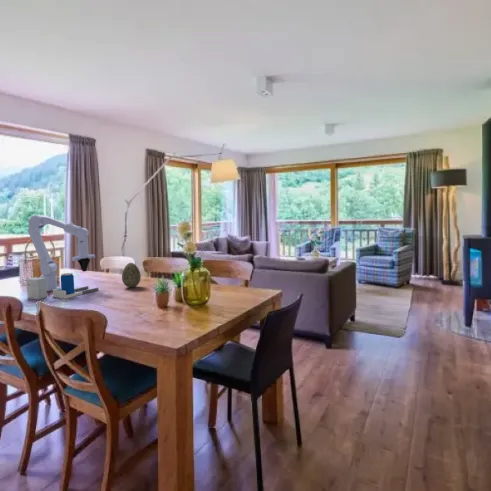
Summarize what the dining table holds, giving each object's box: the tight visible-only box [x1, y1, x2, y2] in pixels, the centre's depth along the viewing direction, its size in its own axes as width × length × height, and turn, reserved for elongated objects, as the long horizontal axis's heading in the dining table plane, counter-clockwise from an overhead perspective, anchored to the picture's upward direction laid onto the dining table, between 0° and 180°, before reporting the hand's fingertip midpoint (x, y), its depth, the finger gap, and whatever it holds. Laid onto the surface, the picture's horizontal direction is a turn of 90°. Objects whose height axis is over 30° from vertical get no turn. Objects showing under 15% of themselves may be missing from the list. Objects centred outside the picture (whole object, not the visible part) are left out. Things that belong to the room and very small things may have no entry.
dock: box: [52, 285, 99, 300], centre depth 206 cm, size 10×22×5 cm, turn 152°
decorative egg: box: [121, 262, 142, 289], centre depth 220 cm, size 11×11×15 cm
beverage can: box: [60, 272, 76, 295], centre depth 201 cm, size 6×6×12 cm
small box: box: [25, 276, 48, 300], centre depth 197 cm, size 8×6×10 cm
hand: (84, 271), depth 218 cm, fingers closed
